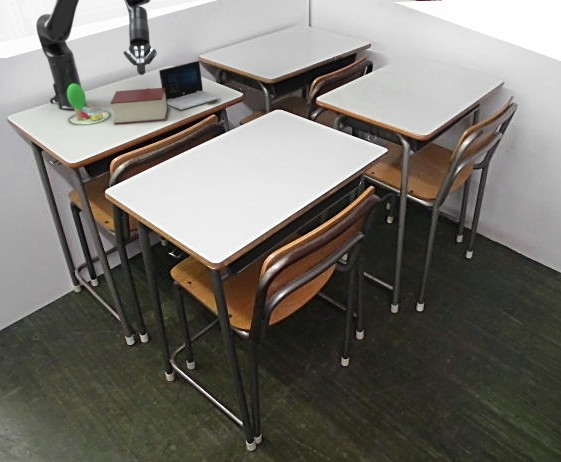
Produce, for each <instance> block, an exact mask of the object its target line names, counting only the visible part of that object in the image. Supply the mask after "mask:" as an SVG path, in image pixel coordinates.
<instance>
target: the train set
mask: <svg viewBox="0 0 561 462" xmlns="http://www.w3.org/2000/svg"><path fill="white" fill-rule="evenodd" d="M81 87H82V86H81ZM81 87H80V86H79V85H78V84H71V85H70V86H69V87H68V89H67V97H68V100H69V102H70V104H71V105H72V106H73V107H74V109H73V110H74V113H75V116H74V117H70V119H69V121H70V123H73V124H74V125H75V124H76V125H93V124H97V123H100V122H103V121H104V120H106V119H108V118H109V116H110V114H109V112H108V111H105V110H102V107H98V106H97V105H94V106H93V104H92V102H90V101H87V100H86V99H87V98H86V94H85V91H84V89H83V87H82V88H81ZM85 102H86V104H87V105H88V106H89V107H86V106H85V105H86V104H85Z"/></svg>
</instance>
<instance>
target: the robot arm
mask: <svg viewBox="0 0 561 462" xmlns="http://www.w3.org/2000/svg"><path fill="white" fill-rule="evenodd" d="M79 1H80V0H55V4H54V6H53V9H52V11H51V14H50V13H45V14H44V13H43V14H41V15H40V16H39V17H38V19H37V20H36V27H35V28H36V33H37V36H38V40H39V43H40V46H41V49H42V51H43V54H44V56H45V57H46V59H47V61H48V66H49V70H50V73H51V77H52V80H53V83H52V87H53V90H54V96H53V97H51V98H50V99H49V102H50V104H53V103H57V104H58V108H59V109H60V110H74V107H73V106H72V105H71V104H70V102H69V100H68V97H67V89H68V87H69V86H70V85H71V84H78V85H79V86H80V87H81V88H82V89H83V87H82V84H81V79H80V75H79V71H78V67H77V63H76V60H75V56H74V52H73V50H71V49H70V48H69V46H68V44H67V42H66V41H67V40H68V39H69V38H70V35H71V33H72V30H73V29H72V28H73V25H74V24H73V23H74V19H75V14H76V10H77V9H78V8H77V7H78V4H79ZM123 1H124V3H125V6H126V9H127V12H128V22H129V23H128V24H129V25H128V35H129V47H128V49H127V50H125V51H123V55H124V58H126V59H127V60H128V61H129V62H130V64H132V65H133V66H135V67H136V71H137V73H138V74H139V75H140V76H145V74H146V65H151V63H152V62H153V60H154V59H155V58H156V56H157V55H158V52H157V50H156V48H152V46H151V43H150V28H149V22H148V21H149V20H148V18H149V17H148V11H147V9H146V8H145V7H143V6H144V5H148V4H149V3H150V2H151V0H123ZM132 56H133V57H134V58H135V59H134V58H133V57H132ZM86 104H87V101H86V102H85V105H86Z"/></svg>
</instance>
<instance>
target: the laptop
mask: <svg viewBox="0 0 561 462" xmlns="http://www.w3.org/2000/svg"><path fill="white" fill-rule="evenodd" d="M201 72H202V71H201V63H200V60H195V61H191V62H187V63H183V64H179V65H175V66H171V67H170V66H169V67H167V68H162V69H159V71H158V73H159V79H160V80H159V81H160V83H161V88H165V92H166V98H167V104H168V106H170V107H172V108H175V109H178V110H180V111H183V110H187V109H190V108H194V107H197V106H200V105H203V104H207V103H210V102H215V101H217V100H219V99H220V97H219V96H217V95H215V94H213V93H210V92H207V91H204V87H203V80H202V73H201Z"/></svg>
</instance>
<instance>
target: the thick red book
mask: <svg viewBox="0 0 561 462" xmlns="http://www.w3.org/2000/svg"><path fill="white" fill-rule="evenodd" d="M110 105H111V107H112V111H113V116H114V120H115V122H114V125H122V124H136V123H150V122H160V121H166V120H167V115H168V110H169V105H168V104H167V98H166V92H165V88H162V87H155V88H154V87H153V88H142V89H129V90H116V91H115V93H114V95H113V97H112V99H111V100H110Z"/></svg>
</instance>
